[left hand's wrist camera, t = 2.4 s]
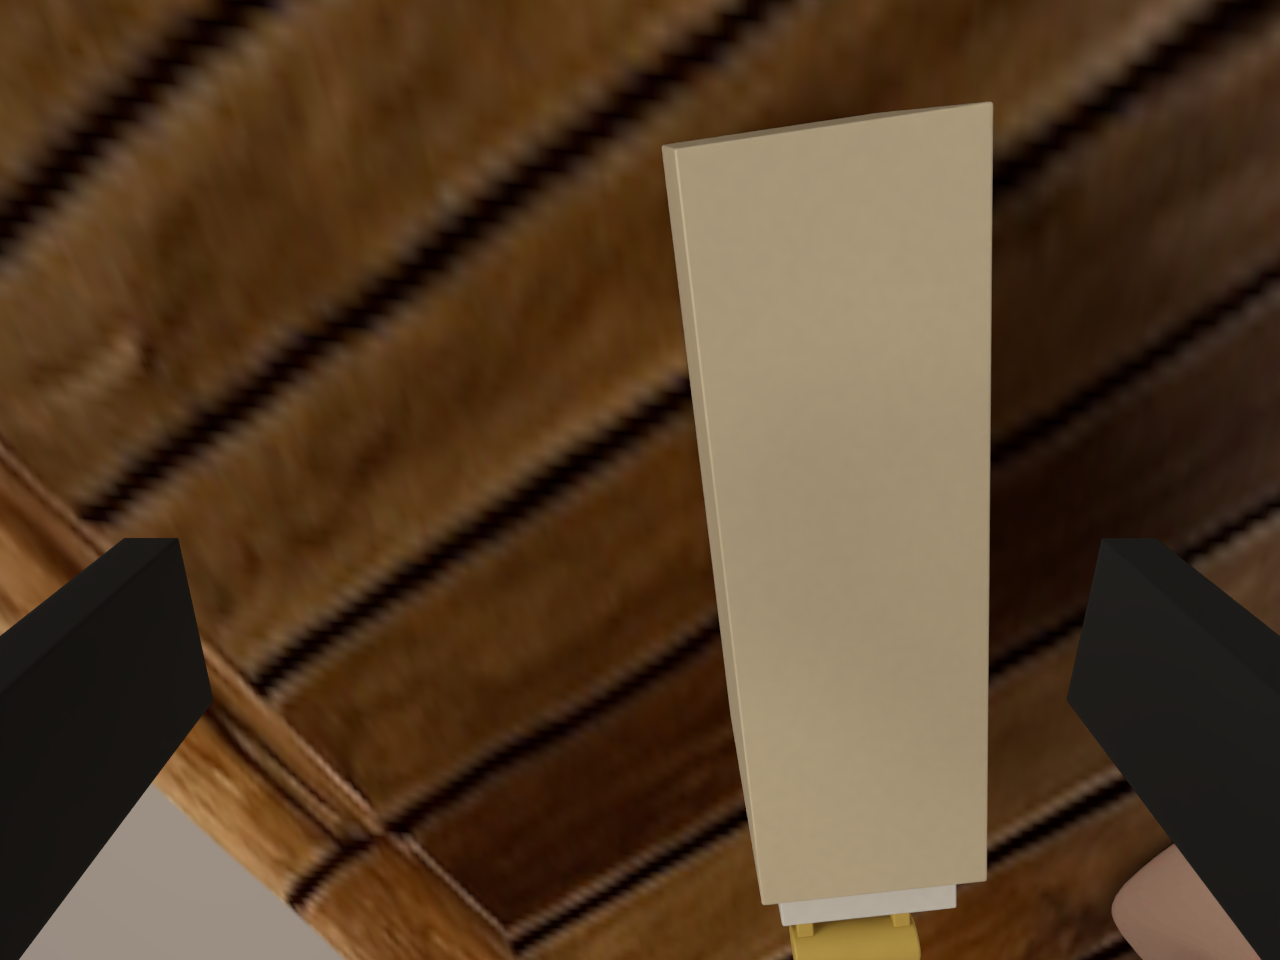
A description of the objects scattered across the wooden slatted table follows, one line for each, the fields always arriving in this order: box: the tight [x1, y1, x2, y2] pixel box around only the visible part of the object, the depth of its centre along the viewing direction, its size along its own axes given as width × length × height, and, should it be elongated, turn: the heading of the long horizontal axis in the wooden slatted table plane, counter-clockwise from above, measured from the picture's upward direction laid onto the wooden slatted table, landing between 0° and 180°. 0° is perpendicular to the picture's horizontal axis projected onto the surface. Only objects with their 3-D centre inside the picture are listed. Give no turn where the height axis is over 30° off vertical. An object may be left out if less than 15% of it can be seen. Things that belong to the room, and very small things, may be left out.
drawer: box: [778, 884, 956, 960], centre depth 28 cm, size 26×6×8 cm, turn 8°
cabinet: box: [662, 102, 993, 905], centre depth 27 cm, size 22×7×9 cm, turn 8°
